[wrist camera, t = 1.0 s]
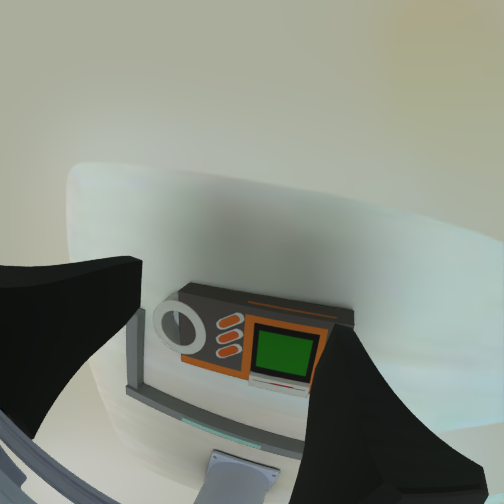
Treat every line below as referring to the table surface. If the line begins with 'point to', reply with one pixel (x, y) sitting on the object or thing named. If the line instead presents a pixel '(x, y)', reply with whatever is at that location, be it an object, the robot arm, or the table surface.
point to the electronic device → (249, 335)
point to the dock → (191, 412)
